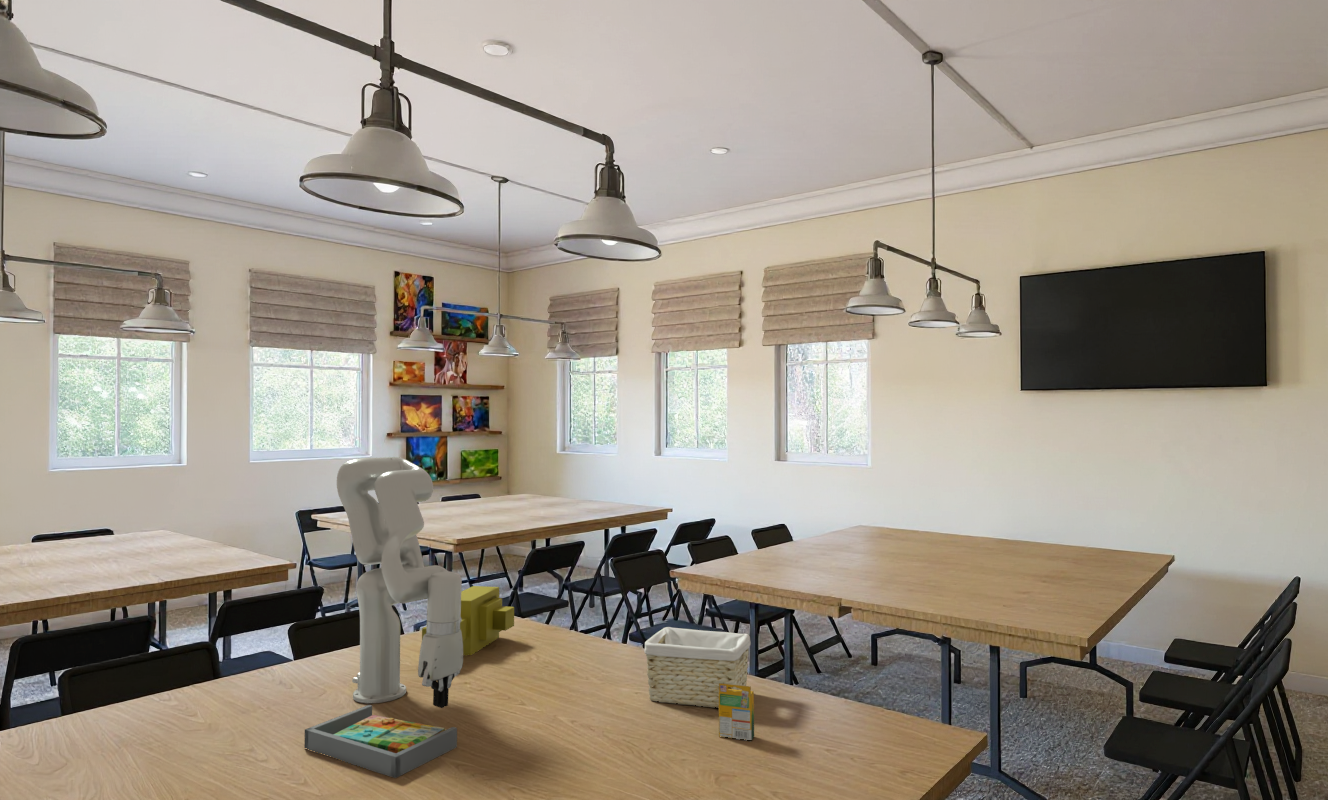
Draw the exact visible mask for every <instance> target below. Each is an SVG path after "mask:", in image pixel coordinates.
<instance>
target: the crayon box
mask: <svg viewBox="0 0 1328 800" xmlns="http://www.w3.org/2000/svg"><path fill="white" fill-rule="evenodd" d="M728 687H736V688H740V689H742V690H735V689H728ZM751 689H752V687H751V685H746V686H742V685H732V684H723V683H719V708H718V737H719V738H725V737H728V738H727V739H732V738H736V739H735V740H740V739H744V740H743V741H747V740H752V741H753V739H754V737H755V699H754V697H755V695H754V690H753V691H752V690H751ZM720 736H721V737H720ZM745 739H746V740H745Z"/></svg>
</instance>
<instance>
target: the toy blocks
mask: <svg viewBox="0 0 1328 800" xmlns="http://www.w3.org/2000/svg"><path fill="white" fill-rule="evenodd" d="M460 617H461V619H462V621H461V622H460V630H461V633H462V641H463V656H467V655H471V656H472V654H473V655H474V654H476V653H478V652H479V651H481V650H483V649H484V648H485V647H487V646H488V645H490V644H491V643H493V642H495V641H496V640H497V638H498V639H499V638H500V632H502V631H505V632H506V631H508V630H509V629H511V628H513V627H515V607H514V606H505V605H503V598H502V597H500V587H499V586H485V585H484V586H482V585H481V586H480V585H473V586H470V587H469V588H465V589H464V590H461V614H460ZM425 634H426V626H424V627H422V628H421V640H422V639H423V636H424V635H425ZM489 643H490V644H489ZM486 645H487V646H486ZM483 647H484V648H483ZM478 650H479V651H478ZM475 652H476V653H475Z"/></svg>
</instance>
